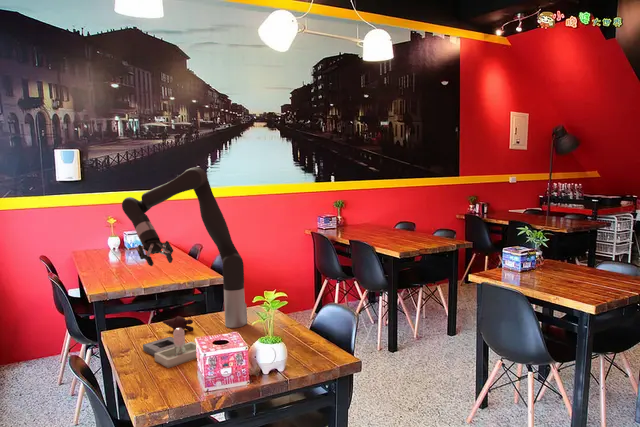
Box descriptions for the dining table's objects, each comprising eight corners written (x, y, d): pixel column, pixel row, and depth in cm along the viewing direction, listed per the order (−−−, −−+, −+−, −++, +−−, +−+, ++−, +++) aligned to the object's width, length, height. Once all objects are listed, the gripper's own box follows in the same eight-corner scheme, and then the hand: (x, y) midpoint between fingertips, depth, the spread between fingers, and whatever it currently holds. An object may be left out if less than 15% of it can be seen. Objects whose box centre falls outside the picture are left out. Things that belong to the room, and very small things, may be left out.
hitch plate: (170, 342, 199) (170, 336, 198) (185, 349, 190) (185, 343, 190) (143, 350, 190) (142, 344, 190) (157, 358, 182) (157, 352, 182)
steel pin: (182, 353, 184) (180, 325, 183) (187, 355, 182) (186, 327, 181) (173, 356, 182) (171, 328, 180) (178, 358, 179) (176, 330, 178)
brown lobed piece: (157, 319, 209) (188, 323, 207) (165, 310, 216) (196, 314, 214) (158, 332, 212) (190, 337, 209) (167, 323, 219) (197, 327, 216)
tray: (192, 348, 191) (191, 341, 191) (206, 354, 184) (205, 347, 184) (154, 361, 179) (154, 353, 179) (168, 368, 172) (167, 360, 172)
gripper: (133, 230, 200) (148, 260, 193) (165, 227, 210) (180, 255, 203) (129, 241, 204) (143, 271, 197) (159, 237, 214) (174, 266, 207)
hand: (161, 263), depth 200 cm, fingers open, 8 cm apart
